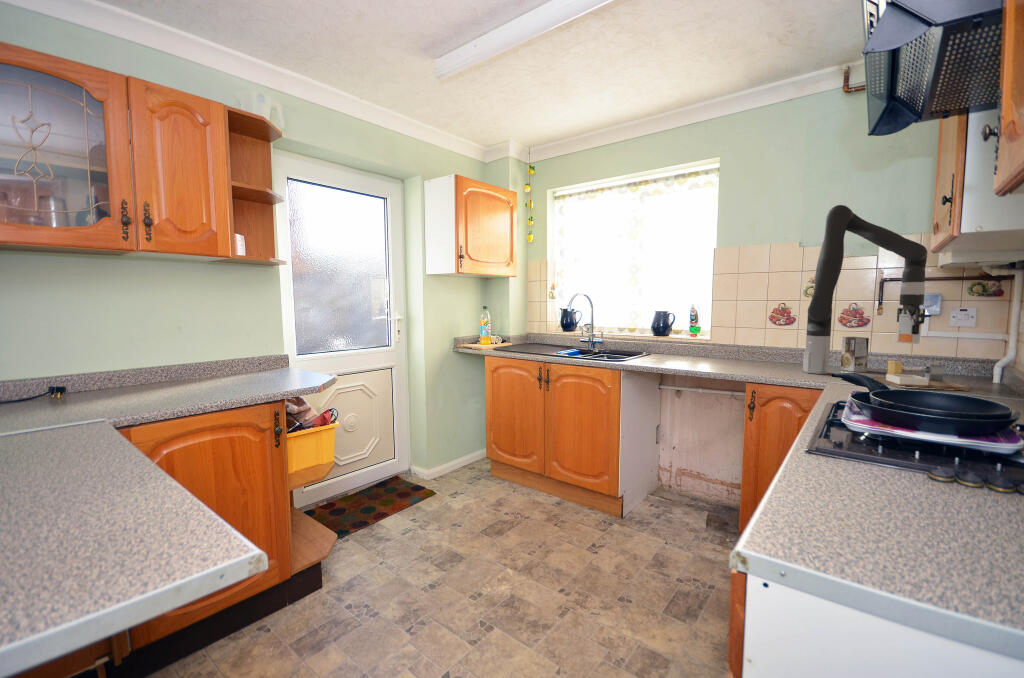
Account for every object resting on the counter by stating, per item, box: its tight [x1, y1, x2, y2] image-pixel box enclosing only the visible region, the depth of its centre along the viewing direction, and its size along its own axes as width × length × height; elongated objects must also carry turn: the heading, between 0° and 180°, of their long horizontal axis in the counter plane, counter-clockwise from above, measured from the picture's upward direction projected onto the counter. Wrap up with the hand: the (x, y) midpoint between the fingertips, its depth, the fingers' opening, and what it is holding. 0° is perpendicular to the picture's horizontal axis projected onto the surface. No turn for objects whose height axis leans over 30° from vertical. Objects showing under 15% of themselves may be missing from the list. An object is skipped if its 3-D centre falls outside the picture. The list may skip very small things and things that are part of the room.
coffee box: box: [840, 336, 870, 373], centre depth 214 cm, size 9×6×16 cm
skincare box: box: [896, 313, 922, 345], centre depth 185 cm, size 6×4×12 cm
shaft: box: [886, 360, 930, 374], centre depth 182 cm, size 14×5×6 cm, turn 76°
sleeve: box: [885, 373, 929, 385], centre depth 174 cm, size 9×9×2 cm
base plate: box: [873, 376, 970, 392], centre depth 177 cm, size 22×18×2 cm
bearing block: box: [922, 362, 945, 381], centre depth 180 cm, size 4×5×6 cm
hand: (909, 333), depth 185 cm, fingers closed on skincare box, 7 cm apart
